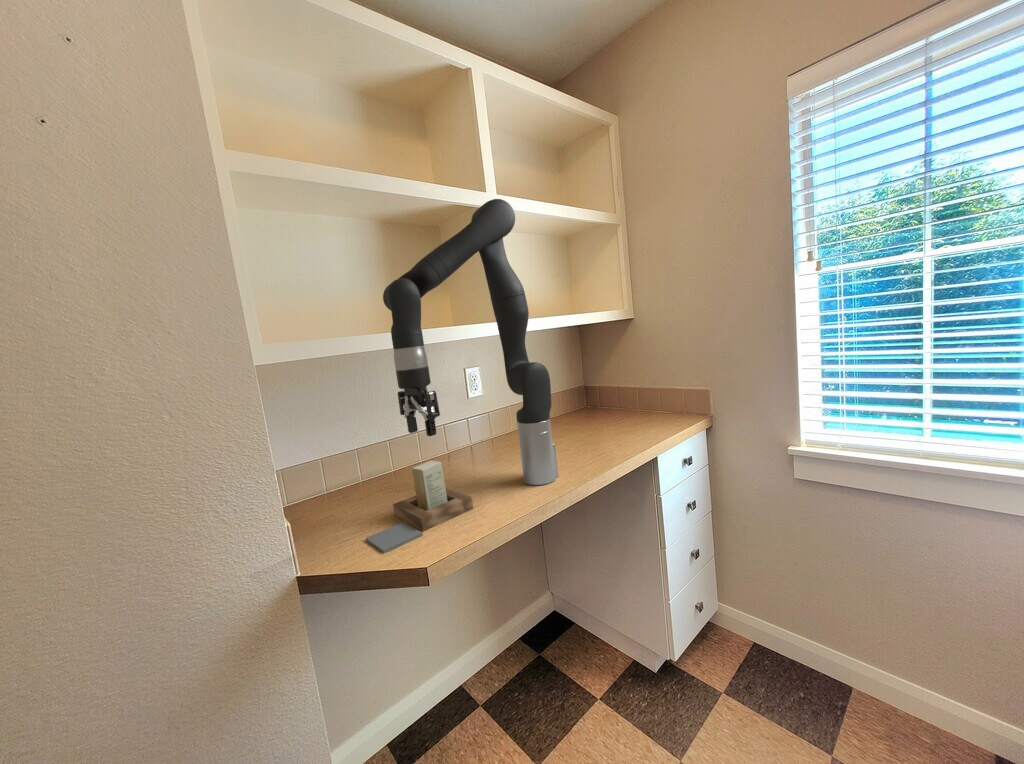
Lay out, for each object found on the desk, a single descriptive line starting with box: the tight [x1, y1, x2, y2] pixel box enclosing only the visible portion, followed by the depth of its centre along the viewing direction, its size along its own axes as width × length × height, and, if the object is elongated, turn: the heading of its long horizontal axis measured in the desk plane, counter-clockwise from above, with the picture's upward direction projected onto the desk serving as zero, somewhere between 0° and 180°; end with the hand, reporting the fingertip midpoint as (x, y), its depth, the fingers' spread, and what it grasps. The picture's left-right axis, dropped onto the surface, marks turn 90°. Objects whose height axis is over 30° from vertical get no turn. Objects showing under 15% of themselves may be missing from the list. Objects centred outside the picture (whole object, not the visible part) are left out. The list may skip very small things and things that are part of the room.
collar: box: [392, 486, 474, 532], centre depth 99 cm, size 14×14×3 cm
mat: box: [365, 521, 424, 554], centre depth 88 cm, size 9×9×1 cm
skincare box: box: [411, 460, 448, 511], centre depth 98 cm, size 6×4×12 cm
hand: (422, 433), depth 96 cm, fingers open, 8 cm apart
